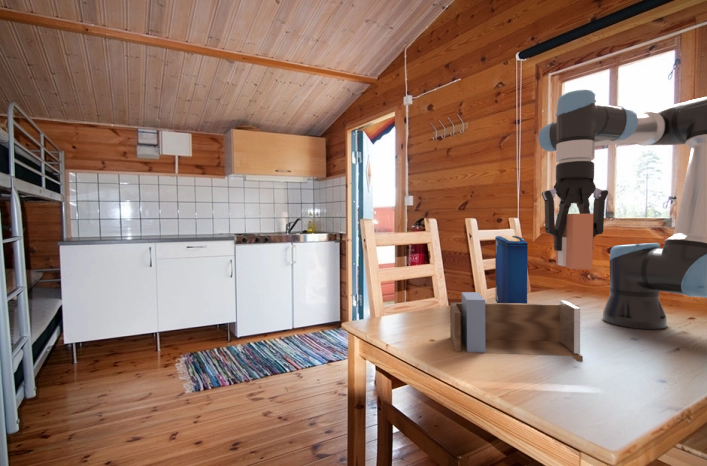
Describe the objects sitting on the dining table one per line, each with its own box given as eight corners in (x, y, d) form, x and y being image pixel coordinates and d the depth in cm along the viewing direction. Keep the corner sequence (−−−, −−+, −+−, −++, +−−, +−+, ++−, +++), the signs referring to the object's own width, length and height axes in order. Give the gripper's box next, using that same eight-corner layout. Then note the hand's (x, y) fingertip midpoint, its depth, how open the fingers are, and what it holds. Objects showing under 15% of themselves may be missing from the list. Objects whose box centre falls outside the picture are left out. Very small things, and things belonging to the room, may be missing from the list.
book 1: (478, 340, 95) (478, 292, 95) (485, 352, 87) (485, 299, 86) (462, 339, 96) (461, 292, 96) (467, 351, 87) (466, 299, 87)
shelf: (563, 344, 94) (563, 304, 94) (582, 360, 83) (582, 315, 83) (450, 341, 98) (450, 302, 98) (455, 356, 87) (454, 312, 87)
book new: (573, 264, 91) (574, 214, 91) (592, 269, 82) (593, 213, 82) (556, 264, 92) (556, 214, 91) (572, 269, 83) (573, 213, 82)
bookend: (565, 341, 92) (565, 300, 92) (580, 353, 84) (580, 308, 84) (559, 341, 92) (559, 300, 92) (574, 353, 84) (574, 308, 84)
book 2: (530, 318, 118) (530, 238, 118) (506, 317, 120) (505, 238, 119) (515, 303, 140) (515, 235, 139) (495, 302, 141) (494, 235, 140)
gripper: (606, 164, 89) (604, 264, 89) (529, 165, 91) (528, 263, 92) (625, 158, 81) (622, 268, 82) (540, 160, 84) (539, 266, 84)
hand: (572, 265), depth 87 cm, fingers closed on book new, 4 cm apart
